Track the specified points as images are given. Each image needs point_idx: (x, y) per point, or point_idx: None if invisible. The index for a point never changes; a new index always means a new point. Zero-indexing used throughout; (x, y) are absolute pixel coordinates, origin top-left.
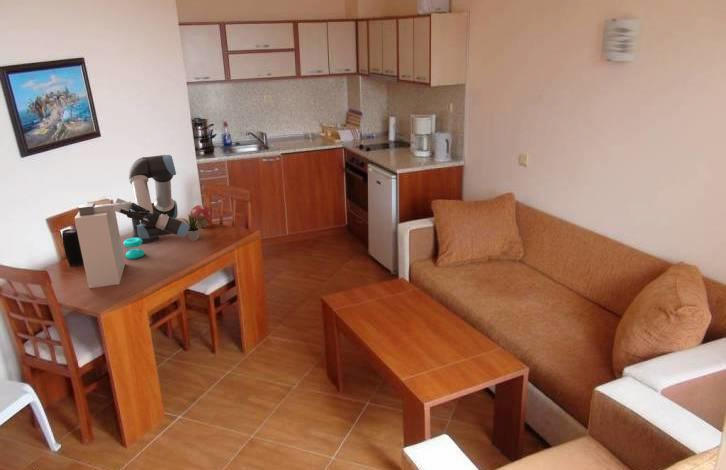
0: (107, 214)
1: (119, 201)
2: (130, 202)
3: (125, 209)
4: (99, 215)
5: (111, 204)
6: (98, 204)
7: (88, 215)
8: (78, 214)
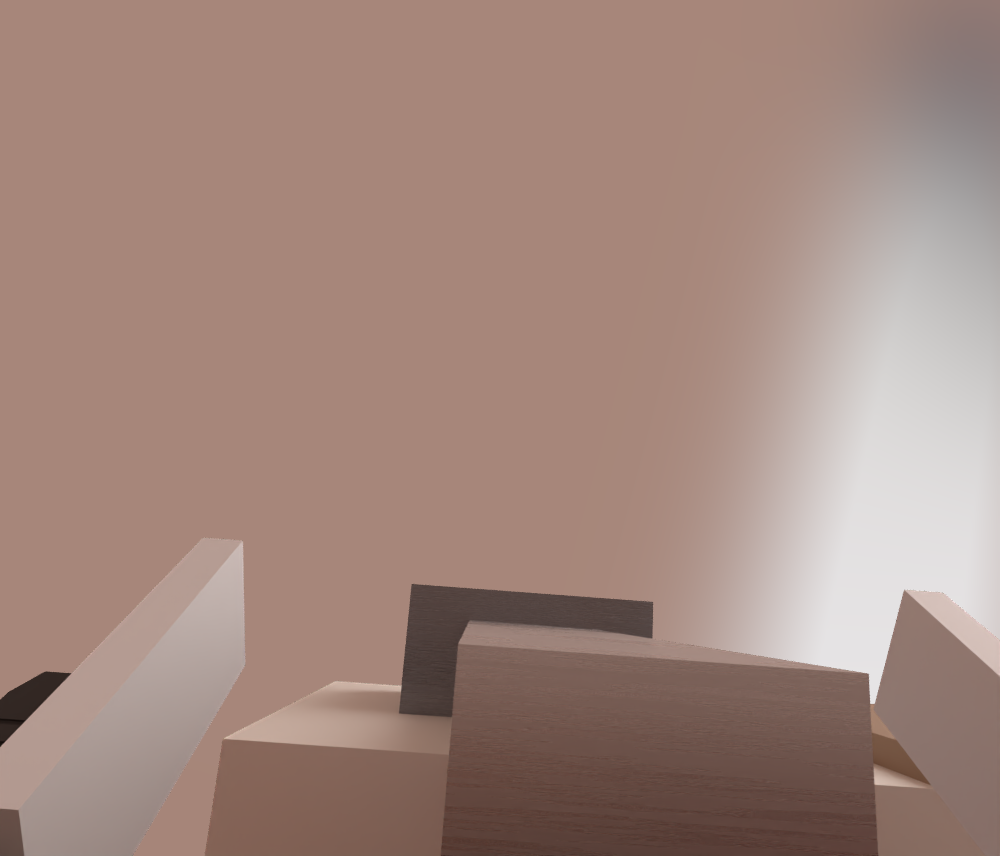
0: (384, 791)
1: (933, 684)
2: (665, 659)
3: (28, 737)
4: (268, 720)
5: (558, 631)
6: None
7: (376, 702)
8: None
